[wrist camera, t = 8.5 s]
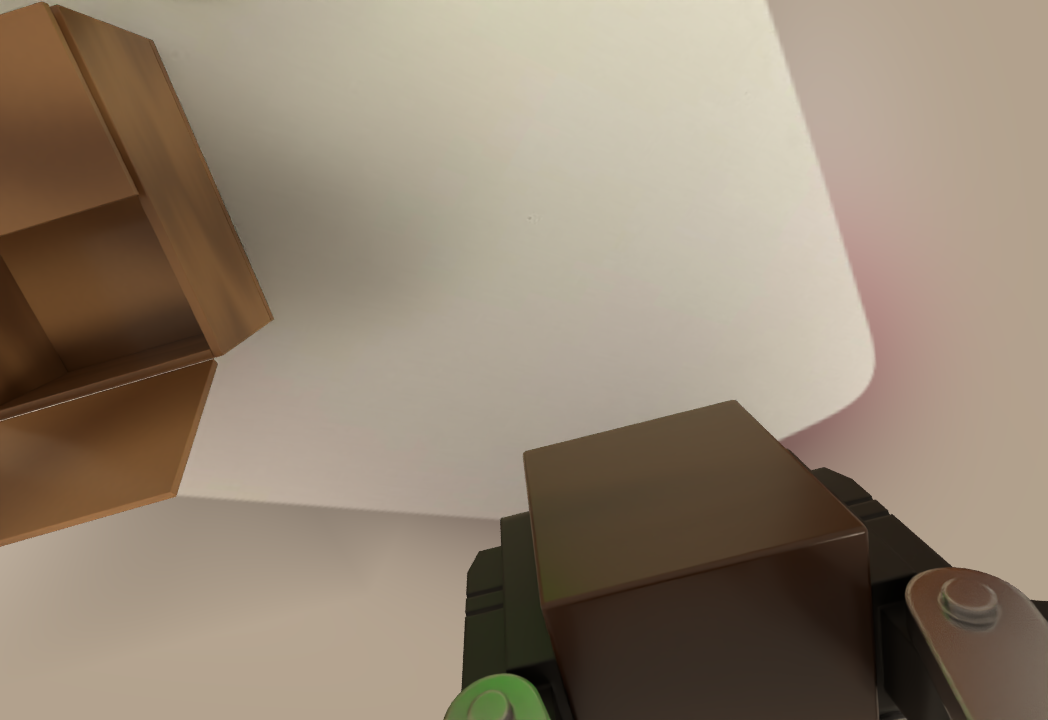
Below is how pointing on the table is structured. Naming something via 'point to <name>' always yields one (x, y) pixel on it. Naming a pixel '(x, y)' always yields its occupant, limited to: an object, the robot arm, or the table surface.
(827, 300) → the table surface
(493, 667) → the robot arm
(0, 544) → the flap
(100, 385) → the carton
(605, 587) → the block
